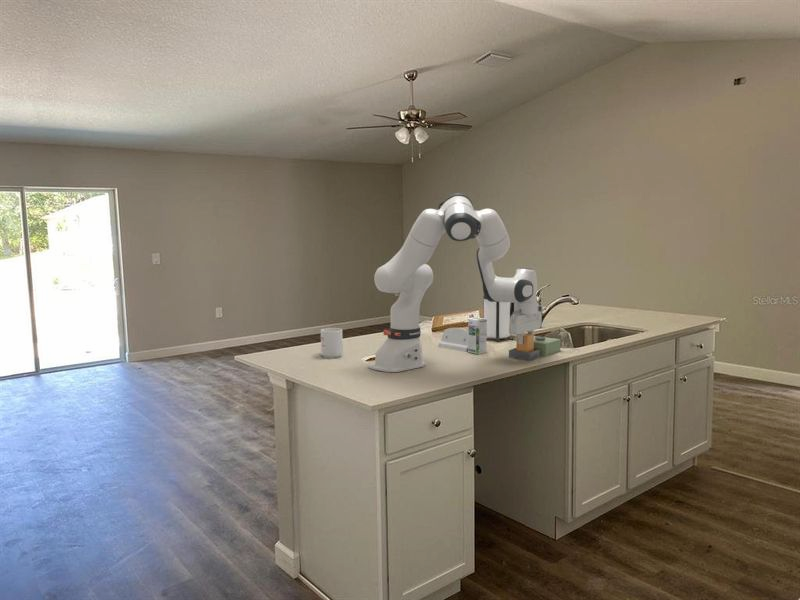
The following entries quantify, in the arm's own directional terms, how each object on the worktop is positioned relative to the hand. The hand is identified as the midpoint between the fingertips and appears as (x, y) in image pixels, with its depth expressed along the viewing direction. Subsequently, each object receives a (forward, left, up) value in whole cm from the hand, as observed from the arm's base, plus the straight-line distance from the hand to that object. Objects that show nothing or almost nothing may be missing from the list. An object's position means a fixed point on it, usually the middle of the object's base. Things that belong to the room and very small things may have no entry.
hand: (525, 342), depth 243 cm
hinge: (-1, +32, -6) cm, 33 cm away
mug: (-46, +65, -6) cm, 80 cm away
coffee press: (+27, +29, -6) cm, 40 cm away
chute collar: (0, 0, -6) cm, 6 cm away
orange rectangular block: (0, 0, -4) cm, 4 cm away
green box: (+13, 0, -6) cm, 14 cm away
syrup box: (-4, +20, -6) cm, 21 cm away
